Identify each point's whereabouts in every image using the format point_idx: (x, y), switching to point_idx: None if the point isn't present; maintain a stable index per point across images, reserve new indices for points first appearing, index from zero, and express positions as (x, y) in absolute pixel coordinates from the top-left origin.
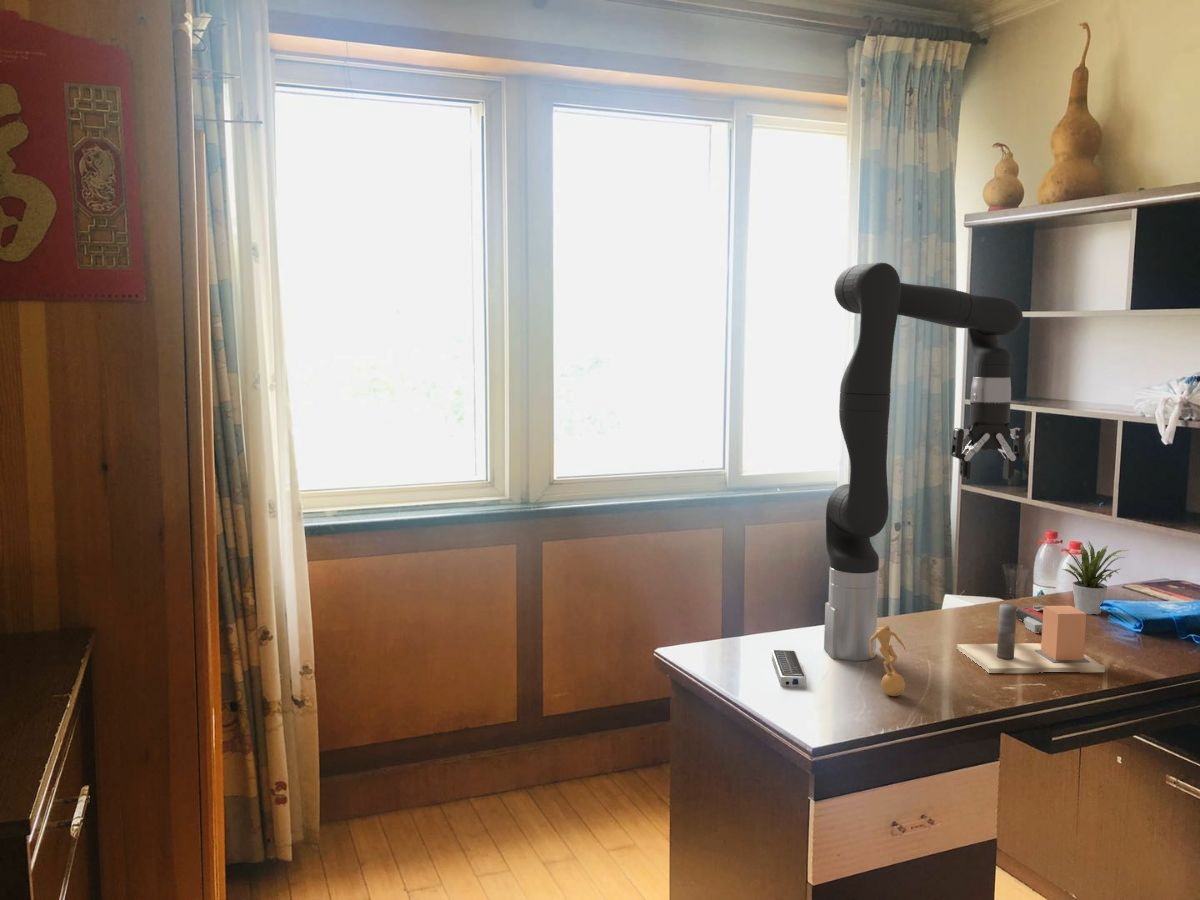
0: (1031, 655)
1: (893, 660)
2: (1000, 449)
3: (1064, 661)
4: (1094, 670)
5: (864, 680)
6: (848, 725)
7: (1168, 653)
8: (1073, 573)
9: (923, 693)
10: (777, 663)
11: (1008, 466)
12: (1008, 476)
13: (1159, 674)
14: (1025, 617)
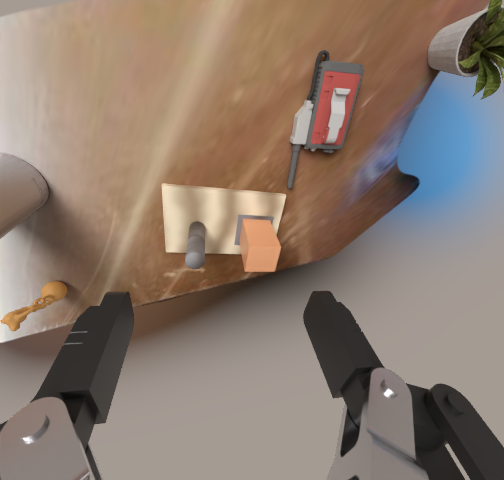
0: (226, 225)
1: (43, 303)
2: (348, 477)
3: None
4: None
5: (32, 255)
6: None
7: (362, 217)
8: (495, 12)
9: (89, 281)
10: None
11: (323, 370)
12: (307, 327)
13: (308, 258)
14: (314, 92)
